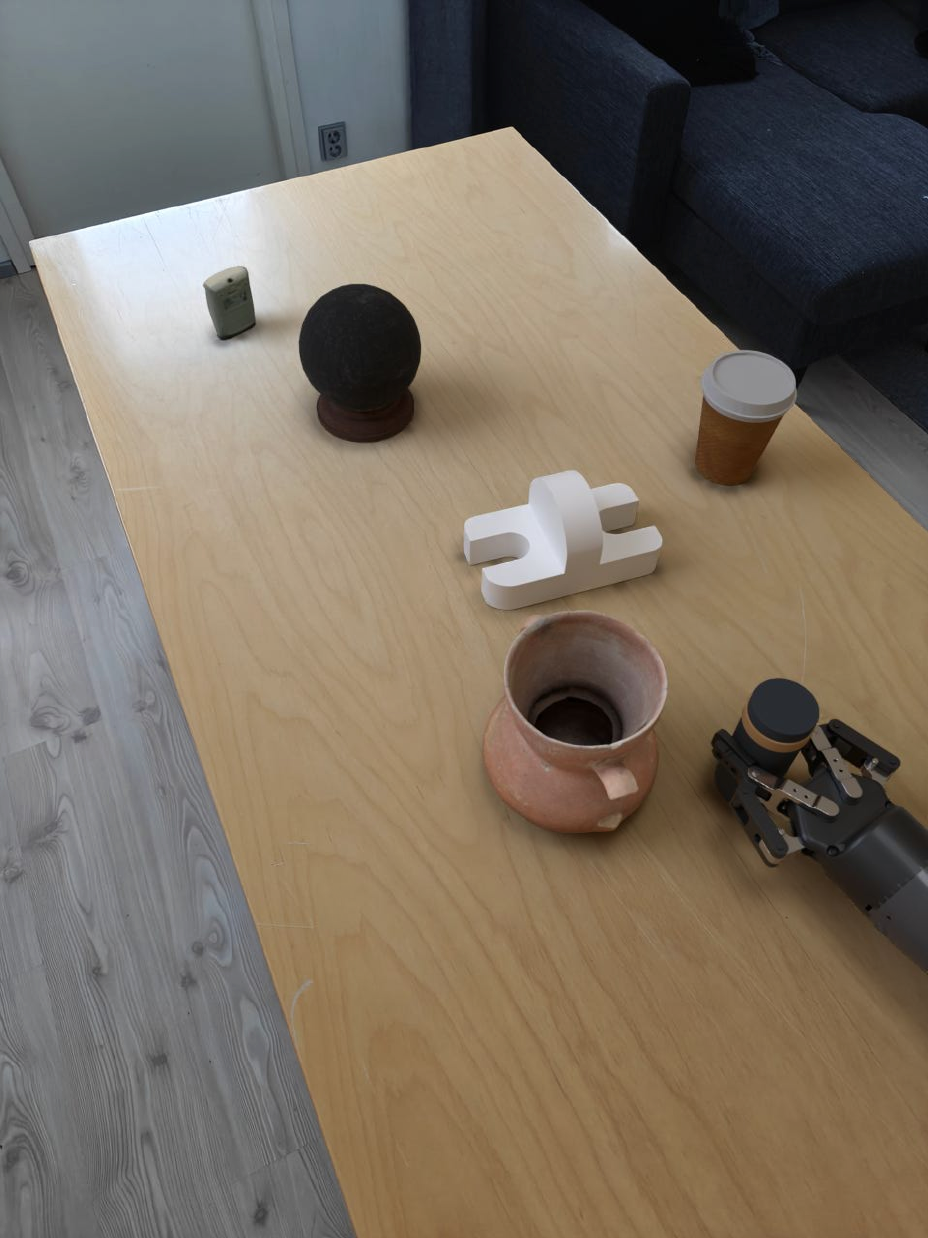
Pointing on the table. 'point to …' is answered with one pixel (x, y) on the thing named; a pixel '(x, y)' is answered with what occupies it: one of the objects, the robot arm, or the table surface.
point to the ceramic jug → (576, 722)
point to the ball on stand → (361, 361)
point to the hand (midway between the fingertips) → (741, 719)
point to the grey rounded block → (230, 302)
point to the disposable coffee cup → (740, 413)
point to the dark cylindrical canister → (772, 729)
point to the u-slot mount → (560, 542)
